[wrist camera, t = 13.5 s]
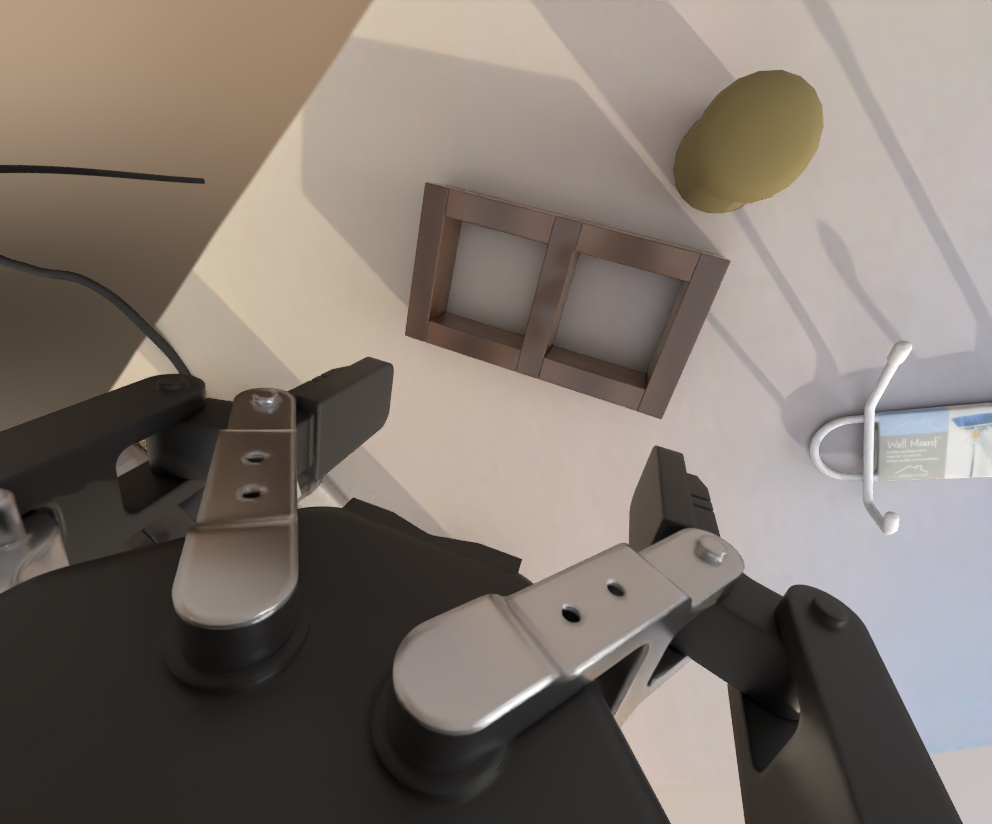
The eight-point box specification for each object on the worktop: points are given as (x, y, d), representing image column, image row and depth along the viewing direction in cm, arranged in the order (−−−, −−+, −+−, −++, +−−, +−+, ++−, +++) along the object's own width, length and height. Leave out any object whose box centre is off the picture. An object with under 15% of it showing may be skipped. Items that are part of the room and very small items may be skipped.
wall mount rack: (808, 501, 36) (835, 549, 30) (804, 330, 31) (834, 353, 26) (1089, 491, 30) (1179, 548, 25) (1131, 281, 26) (1251, 297, 21)
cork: (693, 98, 28) (714, 37, 19) (798, 112, 27) (879, 56, 17) (660, 203, 31) (665, 199, 21) (755, 221, 30) (805, 225, 20)
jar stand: (423, 326, 40) (404, 335, 37) (445, 184, 35) (424, 182, 32) (660, 402, 36) (661, 419, 33) (722, 256, 31) (730, 261, 28)
